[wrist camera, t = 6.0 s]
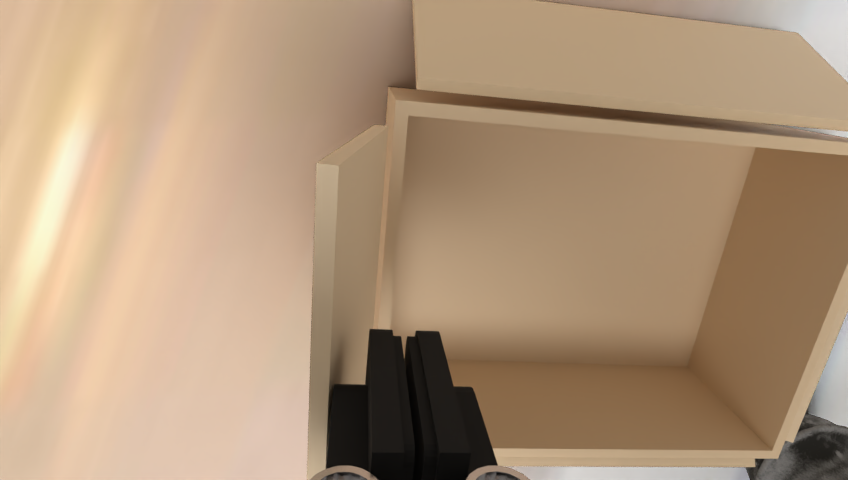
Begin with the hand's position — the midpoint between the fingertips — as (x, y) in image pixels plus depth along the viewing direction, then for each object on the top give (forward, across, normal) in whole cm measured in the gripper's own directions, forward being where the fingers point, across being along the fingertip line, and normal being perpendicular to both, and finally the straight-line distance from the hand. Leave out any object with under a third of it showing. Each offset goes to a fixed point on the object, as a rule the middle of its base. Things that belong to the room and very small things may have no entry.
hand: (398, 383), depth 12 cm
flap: (+5, +1, 0) cm, 5 cm away
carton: (+11, -10, 0) cm, 15 cm away
